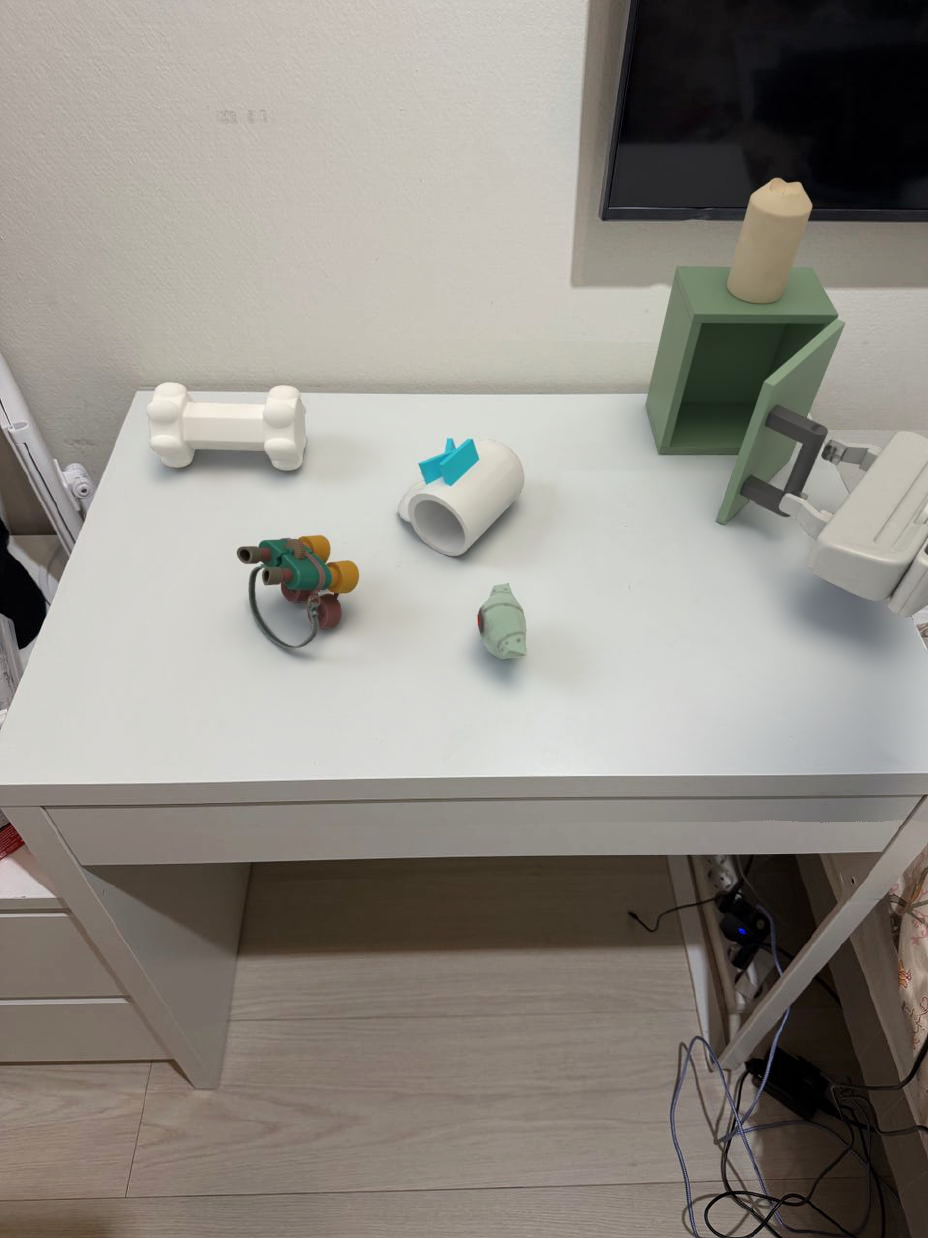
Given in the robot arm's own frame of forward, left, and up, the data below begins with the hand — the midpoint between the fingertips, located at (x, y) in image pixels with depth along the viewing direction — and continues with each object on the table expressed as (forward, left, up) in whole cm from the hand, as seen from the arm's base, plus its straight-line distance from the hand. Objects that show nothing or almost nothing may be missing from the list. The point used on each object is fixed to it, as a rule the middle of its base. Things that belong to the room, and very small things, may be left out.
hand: (805, 471), depth 79 cm
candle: (+7, -16, +8) cm, 19 cm away
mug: (+32, +5, -9) cm, 34 cm away
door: (0, -5, -8) cm, 10 cm away
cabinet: (+7, -16, -8) cm, 19 cm away
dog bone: (+57, +3, -9) cm, 58 cm away
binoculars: (+42, +22, -9) cm, 48 cm away
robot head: (+24, +22, -9) cm, 34 cm away
